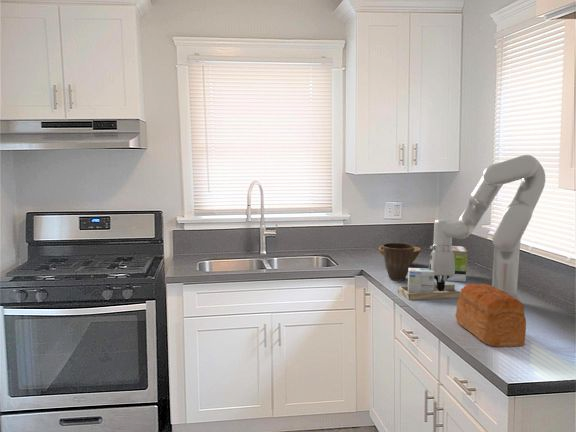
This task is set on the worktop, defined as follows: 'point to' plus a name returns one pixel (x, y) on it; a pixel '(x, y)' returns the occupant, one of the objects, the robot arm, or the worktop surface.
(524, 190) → the robot arm
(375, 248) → the worktop surface
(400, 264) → the plant pot
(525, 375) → the worktop surface
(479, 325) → the bread
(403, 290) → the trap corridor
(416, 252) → the bowl
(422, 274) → the light bulb box
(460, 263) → the tea box
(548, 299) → the worktop surface
